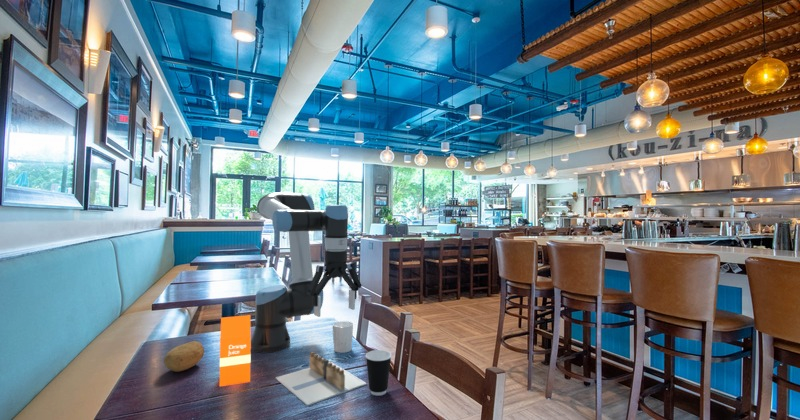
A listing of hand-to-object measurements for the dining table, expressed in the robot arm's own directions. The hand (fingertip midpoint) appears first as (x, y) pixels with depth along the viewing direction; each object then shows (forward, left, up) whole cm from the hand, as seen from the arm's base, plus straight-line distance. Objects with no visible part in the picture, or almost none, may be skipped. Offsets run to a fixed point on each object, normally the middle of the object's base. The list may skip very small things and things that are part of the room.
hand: (335, 312), depth 125 cm
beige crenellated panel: (-1, -6, -19) cm, 20 cm away
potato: (-33, -39, -20) cm, 55 cm away
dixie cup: (+22, +2, -20) cm, 30 cm away
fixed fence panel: (+10, -6, -20) cm, 23 cm away
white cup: (-14, +12, -20) cm, 27 cm away
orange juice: (-14, -28, -20) cm, 37 cm away
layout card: (+5, -8, -20) cm, 22 cm away
